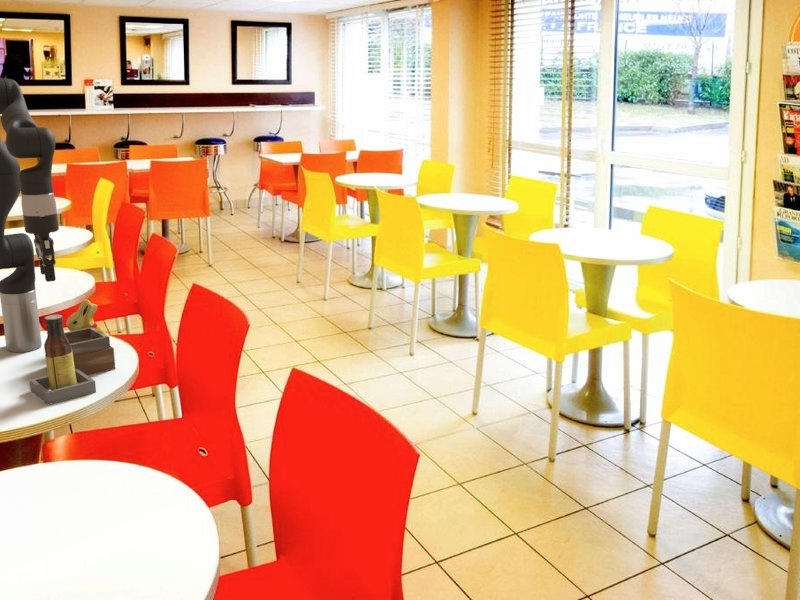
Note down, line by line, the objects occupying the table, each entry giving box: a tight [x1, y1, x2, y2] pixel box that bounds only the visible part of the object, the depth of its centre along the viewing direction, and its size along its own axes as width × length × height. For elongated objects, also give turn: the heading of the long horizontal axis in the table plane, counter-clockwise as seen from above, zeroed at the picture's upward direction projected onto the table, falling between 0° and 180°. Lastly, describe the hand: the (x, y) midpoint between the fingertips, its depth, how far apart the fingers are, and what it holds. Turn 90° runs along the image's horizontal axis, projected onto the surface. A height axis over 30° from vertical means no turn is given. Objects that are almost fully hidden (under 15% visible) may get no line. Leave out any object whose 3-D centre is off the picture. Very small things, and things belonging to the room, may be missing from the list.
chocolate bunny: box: [65, 298, 107, 335], centre depth 220 cm, size 7×11×15 cm, turn 105°
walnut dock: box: [64, 327, 116, 376], centre depth 208 cm, size 13×13×9 cm
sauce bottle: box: [43, 314, 78, 391], centre depth 191 cm, size 7×6×20 cm
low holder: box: [29, 369, 97, 405], centre depth 193 cm, size 11×12×3 cm
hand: (48, 277), depth 190 cm, fingers open, 8 cm apart
